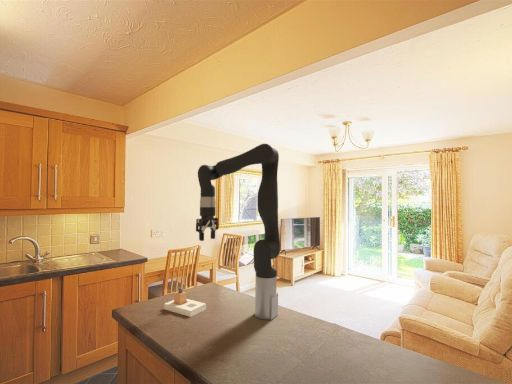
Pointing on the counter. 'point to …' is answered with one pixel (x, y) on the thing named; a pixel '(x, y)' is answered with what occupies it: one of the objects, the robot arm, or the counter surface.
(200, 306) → the power strip
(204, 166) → the robot arm
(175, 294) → the block
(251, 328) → the counter surface
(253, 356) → the counter surface
